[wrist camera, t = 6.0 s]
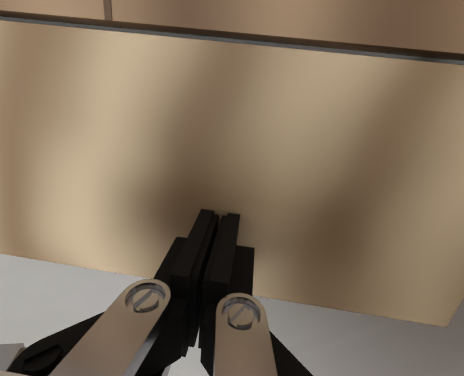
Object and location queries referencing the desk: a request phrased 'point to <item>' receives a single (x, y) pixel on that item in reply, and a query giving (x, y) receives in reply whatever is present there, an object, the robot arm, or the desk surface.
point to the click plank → (237, 163)
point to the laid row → (276, 21)
